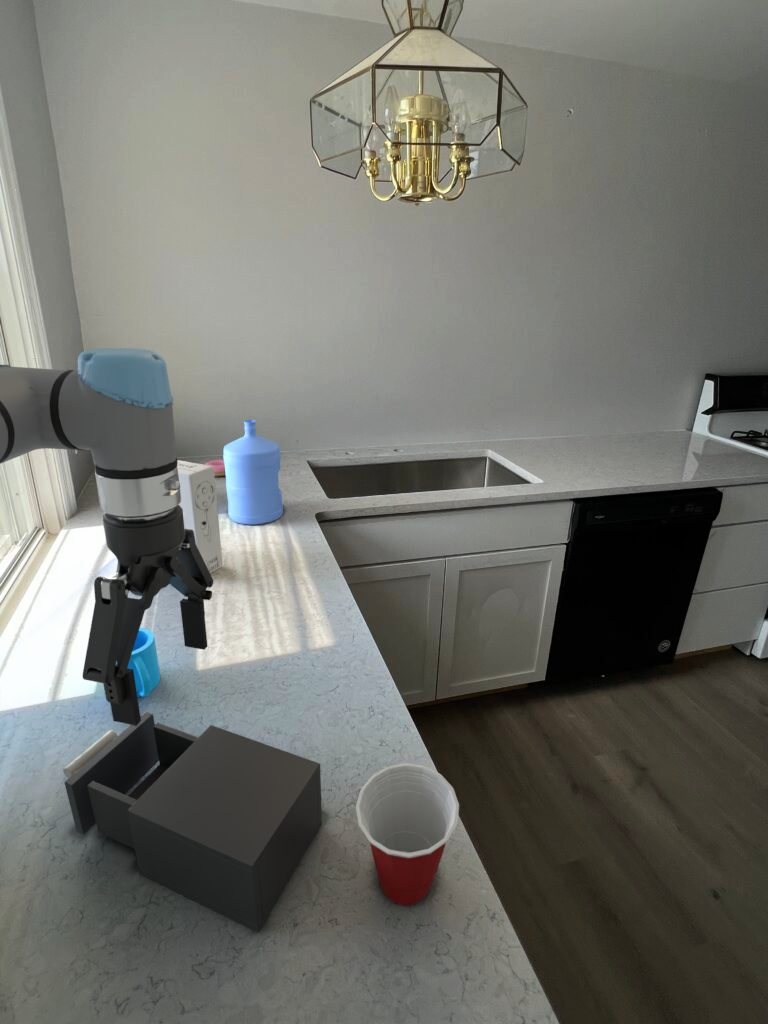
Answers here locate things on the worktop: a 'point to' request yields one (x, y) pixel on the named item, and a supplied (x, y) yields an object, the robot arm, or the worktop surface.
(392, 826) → the plastic cup
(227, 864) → the dark grey rectangular box
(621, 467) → the worktop surface
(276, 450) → the water jug
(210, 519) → the cereal box
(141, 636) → the mug
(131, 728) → the drawer
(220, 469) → the doughnut
